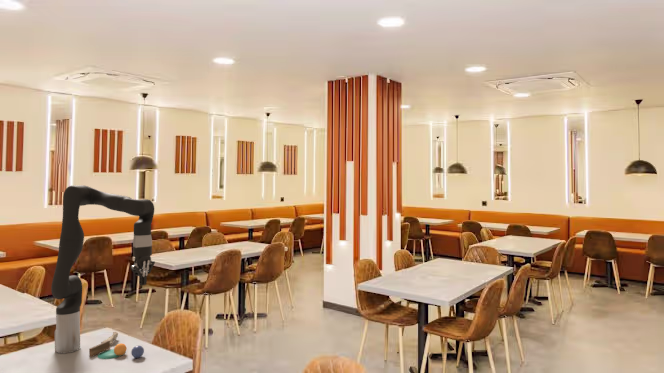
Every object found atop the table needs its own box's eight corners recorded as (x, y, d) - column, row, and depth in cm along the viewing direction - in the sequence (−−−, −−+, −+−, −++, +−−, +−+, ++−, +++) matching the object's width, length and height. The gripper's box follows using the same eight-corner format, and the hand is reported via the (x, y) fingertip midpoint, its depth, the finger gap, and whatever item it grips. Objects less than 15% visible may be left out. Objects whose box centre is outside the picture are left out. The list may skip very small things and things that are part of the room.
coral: (98, 348, 196) (98, 338, 196) (106, 340, 206) (106, 331, 206) (111, 347, 197) (111, 338, 197) (119, 339, 207) (119, 330, 207)
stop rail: (89, 356, 186) (89, 348, 186) (107, 348, 196) (107, 340, 196) (91, 356, 186) (91, 348, 186) (109, 348, 195) (109, 340, 195)
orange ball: (121, 357, 184) (111, 357, 186) (129, 352, 189) (120, 353, 190) (119, 345, 184) (110, 346, 186) (128, 341, 189) (119, 342, 191)
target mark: (91, 357, 185) (91, 357, 185) (111, 348, 196) (111, 347, 196) (111, 360, 182) (111, 359, 182) (131, 350, 192) (131, 350, 192)
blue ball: (140, 353, 181) (134, 362, 182) (148, 348, 186) (143, 357, 187) (131, 345, 183) (126, 354, 183) (140, 341, 187) (135, 350, 188)
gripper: (146, 242, 194) (146, 281, 194) (124, 247, 182) (124, 287, 182) (160, 243, 192) (160, 282, 192) (138, 247, 179) (139, 288, 179)
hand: (143, 284), depth 187 cm, fingers closed
